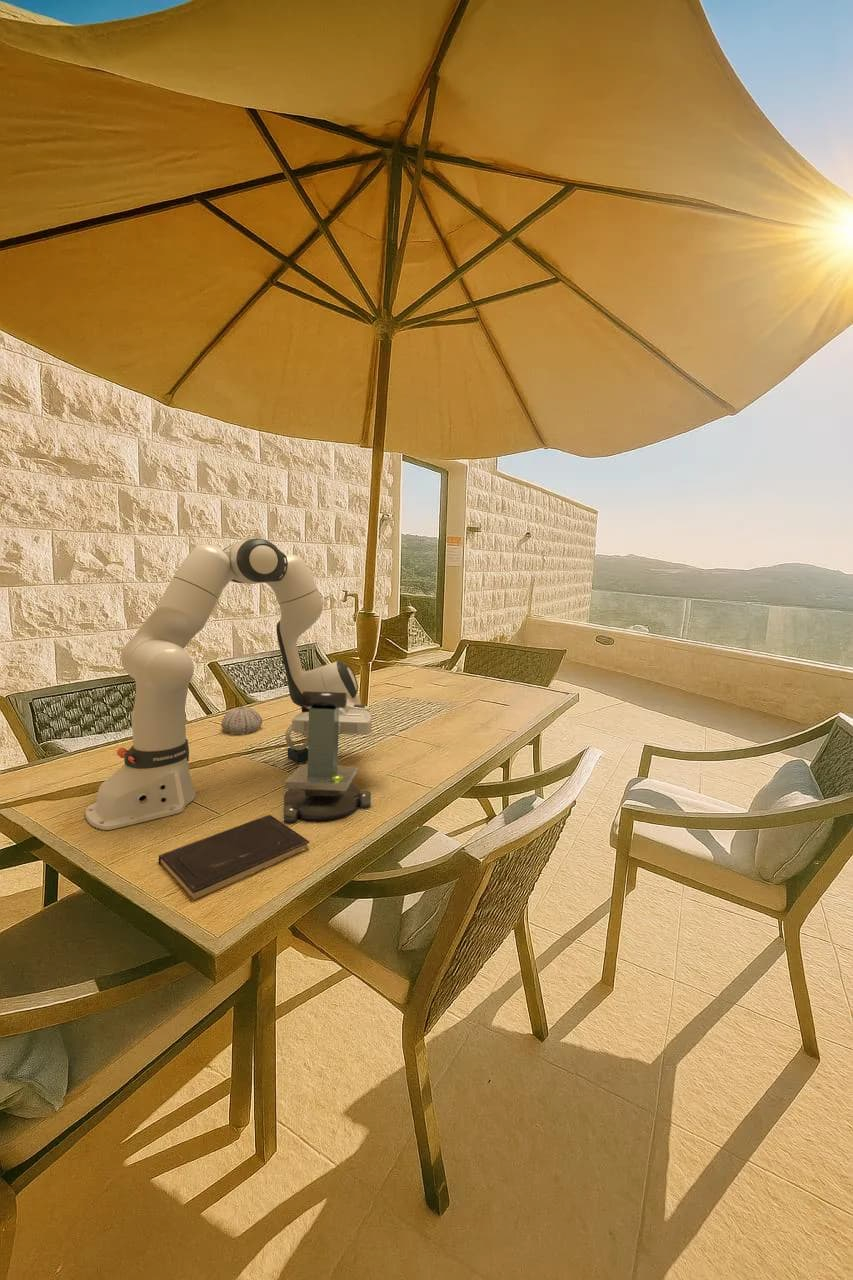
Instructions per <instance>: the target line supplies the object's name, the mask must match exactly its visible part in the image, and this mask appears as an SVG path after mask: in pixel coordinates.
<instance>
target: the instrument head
mask: <svg viewBox="0 0 853 1280" xmlns="http://www.w3.org/2000/svg"><path fill="white" fill-rule="evenodd" d="M346 704H347V694H346V693H340V692H312V691H304V692H303V694H302V706H305V707H310V708H309V731H308V746H307V747H308V761H307V764H303V763H301V765H299V767H298V768H297V769H296V770H295V771H294V772H293V773H291V775H290V776H289V777H287V778H286V779H285V780H284V784H283V785H284V786H283V787H284V788H283V789H312V790H335V791H346V790H347V788H348V787H349V785H350V783H351V782H352V783H353V780H354V779H355V777H356V775H357V774H358V766H356V765H355V766H351V765H338V763H339V762H338V761H339V758H338V757H339V734H338V731H339V708H346Z"/></svg>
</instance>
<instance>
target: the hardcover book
mask: <svg viewBox="0 0 853 1280" xmlns="http://www.w3.org/2000/svg"><path fill="white" fill-rule="evenodd" d="M309 843H310V840H308V839H307V838H305V837H304V836H303V835H301V834H299V833H298V832H297V831H295V830H293V829H292V828H290V827H289V826H287V824H286V823H284V822H282V821H280V820H279V819H277V817H274V816H273V815H271V814H270V813H269V814H267V815H265V816H262V817H259V818H256V819H254V820H251V821H248V822H245V823H243V824H240V825H237V826H235V827H231V828H229V829H226V830H223V831H220V832H218V833H216V834H213V835H209V836H207V837H205V838H202V839H199V840H197V841H194V842H190V843H188V844H185V845H183V846H181V847H177V848H173V849H172V850H169V851H167V852H164V853H161V854H158V863H159V864H161V865H163V866H164V868H165V869H166V870H167V871H168V872H169V873H170V874H171V875H172V876H173V878H174V879H175V880H176V881H177V882H178V883H179V884H180V885H181V887H182V888H183V889H184V890H185V891H186V892H187V893H188V894H189V895H190V897H191V898H192V899H193V900H196V899H199V898H201V897H203V896H205V895H208V894H210V893H212V892H214V891H217V890H218V889H221V888H223V887H226V886H228V885H230V884H232V883H234V881H235V882H237V881H238V880H241V879H243V878H246V877H247V876H246V875H248V876H250V875H252V874H254V873H253V872H255V873H257V872H258V871H257V870H259V871H261V870H263V869H262V868H264V867H266V866H268V867H270V866H271V865H270V864H272V865H274V864H273V863H275V862H277V863H279V862H280V861H279V860H281V861H283V860H282V859H284V858H286V859H288V858H290V857H292V856H294V855H293V854H295V853H297V852H299V853H301V852H303V851H302V850H303V849H306V850H308V849H307V848H308V847H309V845H308V844H309ZM300 851H301V852H300ZM297 854H298V853H297ZM291 855H292V856H291ZM295 855H296V854H295ZM289 856H290V857H289ZM287 857H288V858H287ZM284 860H285V859H284ZM278 861H279V862H278ZM275 864H276V863H275ZM269 865H270V866H269ZM266 868H267V867H266ZM260 869H261V870H260ZM264 869H265V868H264ZM256 871H257V872H256ZM251 873H252V874H251ZM249 874H250V875H249ZM245 876H246V877H245ZM242 877H243V878H242ZM240 878H241V879H240Z"/></svg>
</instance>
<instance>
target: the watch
mask: <svg viewBox="0 0 853 1280" xmlns="http://www.w3.org/2000/svg"><path fill="white" fill-rule="evenodd" d="M292 732H293V730H292V723H291V725H289V726H288V727H287V729H286V730H285V735H284V736H285V738H284V740H285V742H286V743H287V745H288V747H287V759H289V760H290V761H291V762H293V761H294V762H293V763H295V764H298V763H299V764H303V763H305V762H308V748H307V747H308V733H302V735H304V737H305V740H304V742H303V743H302V744H298V745H295V744H294V742H293V740H292V737H291V734H292Z"/></svg>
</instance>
